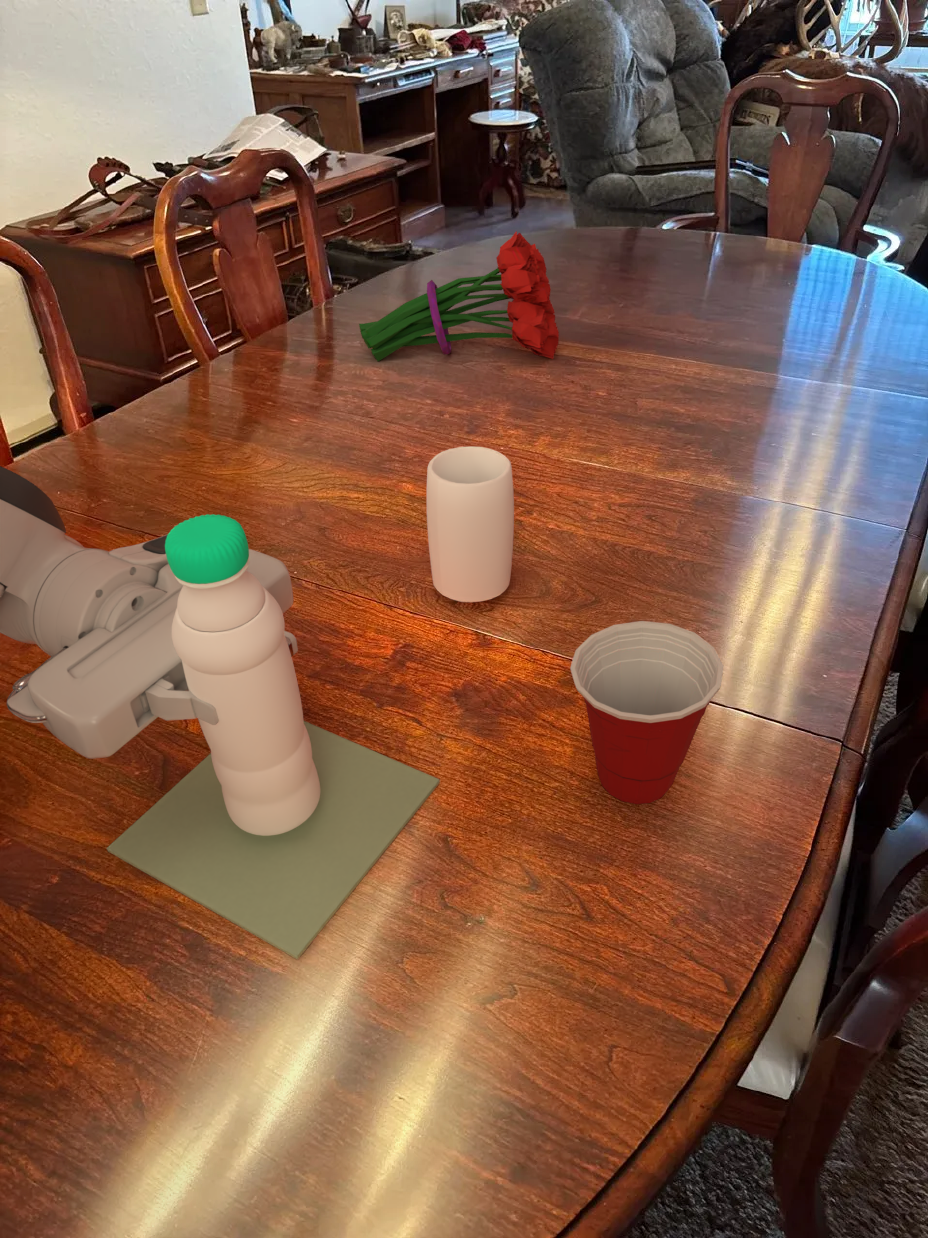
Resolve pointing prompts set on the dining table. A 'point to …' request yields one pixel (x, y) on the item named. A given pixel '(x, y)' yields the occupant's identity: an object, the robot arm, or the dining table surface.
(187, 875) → the mat
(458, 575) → the cup
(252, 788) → the water bottle
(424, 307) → the bouquet
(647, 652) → the plastic cup
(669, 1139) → the dining table surface
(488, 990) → the dining table surface
